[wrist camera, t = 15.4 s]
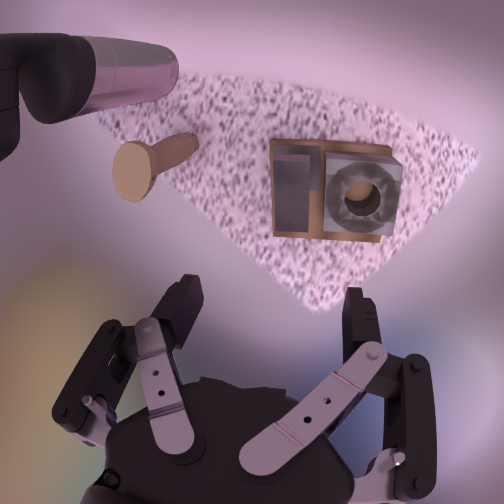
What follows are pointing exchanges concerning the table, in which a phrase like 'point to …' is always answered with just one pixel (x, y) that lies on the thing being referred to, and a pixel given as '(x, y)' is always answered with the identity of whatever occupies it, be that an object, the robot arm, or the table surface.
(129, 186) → the handle
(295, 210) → the hammer
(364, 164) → the peg insertion fixture
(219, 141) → the table surface
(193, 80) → the table surface
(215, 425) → the robot arm
